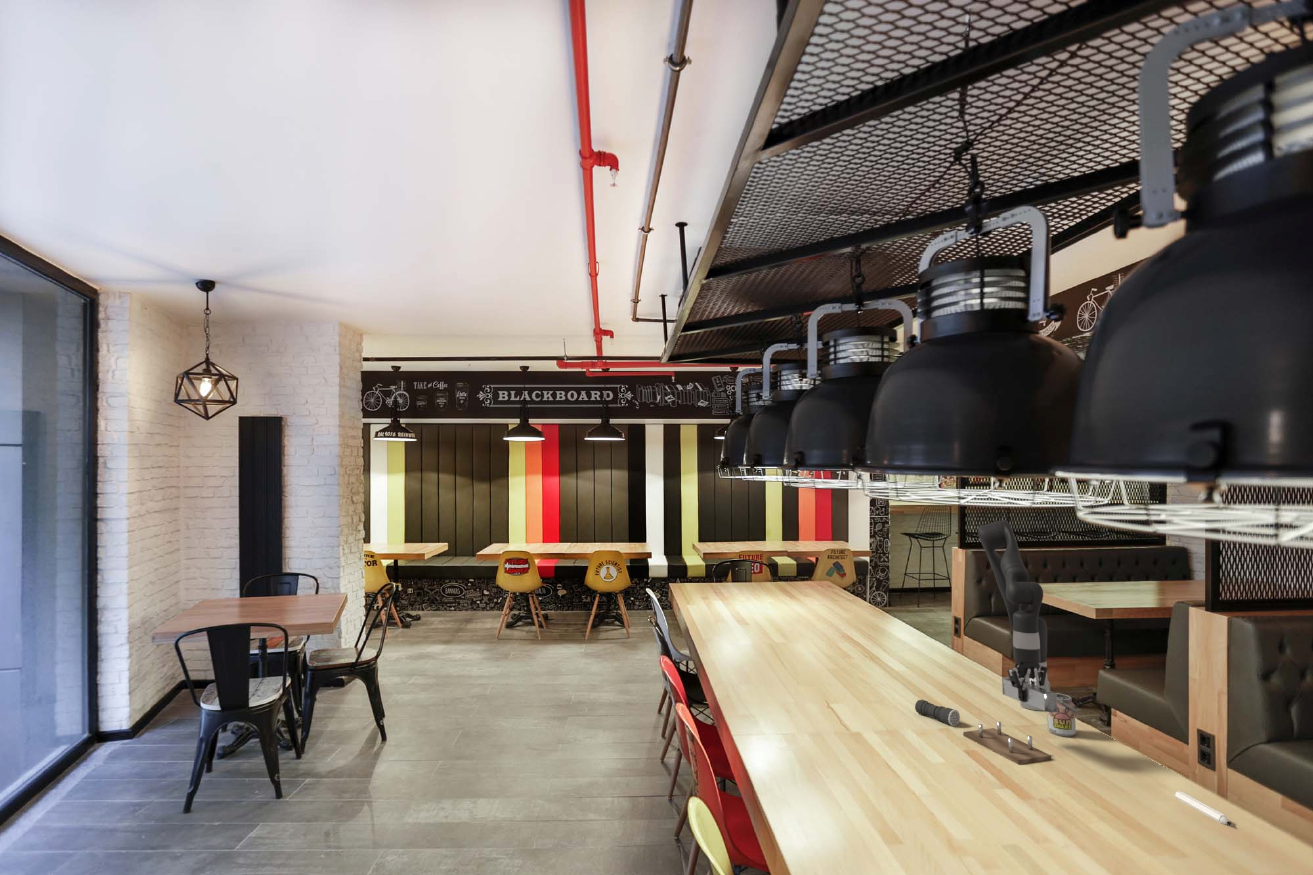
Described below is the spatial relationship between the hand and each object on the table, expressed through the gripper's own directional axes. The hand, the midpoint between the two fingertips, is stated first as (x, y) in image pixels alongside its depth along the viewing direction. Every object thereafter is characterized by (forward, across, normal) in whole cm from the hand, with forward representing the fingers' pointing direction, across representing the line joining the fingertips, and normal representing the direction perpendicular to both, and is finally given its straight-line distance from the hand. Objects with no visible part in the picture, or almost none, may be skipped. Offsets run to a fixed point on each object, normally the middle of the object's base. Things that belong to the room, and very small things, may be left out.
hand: (1028, 700), depth 219 cm
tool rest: (+15, +6, -4) cm, 17 cm away
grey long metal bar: (+1, 0, 0) cm, 1 cm away
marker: (+16, -10, +46) cm, 50 cm away
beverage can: (+15, -21, -8) cm, 27 cm away
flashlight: (+16, +9, -32) cm, 37 cm away
